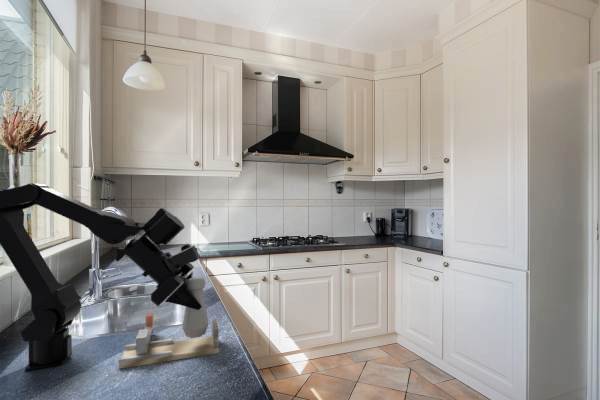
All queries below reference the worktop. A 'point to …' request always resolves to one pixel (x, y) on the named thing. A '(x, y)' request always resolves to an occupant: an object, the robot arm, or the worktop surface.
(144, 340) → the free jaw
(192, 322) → the salt shaker
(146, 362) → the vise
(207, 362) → the worktop surface
